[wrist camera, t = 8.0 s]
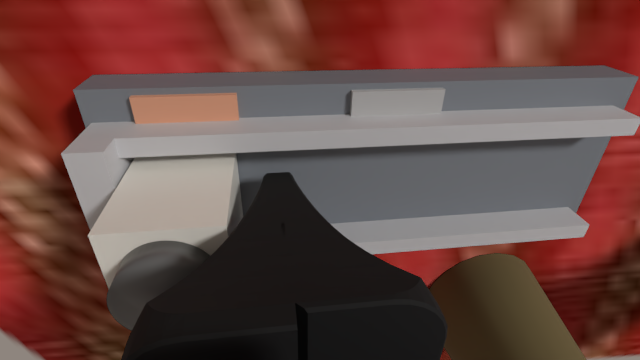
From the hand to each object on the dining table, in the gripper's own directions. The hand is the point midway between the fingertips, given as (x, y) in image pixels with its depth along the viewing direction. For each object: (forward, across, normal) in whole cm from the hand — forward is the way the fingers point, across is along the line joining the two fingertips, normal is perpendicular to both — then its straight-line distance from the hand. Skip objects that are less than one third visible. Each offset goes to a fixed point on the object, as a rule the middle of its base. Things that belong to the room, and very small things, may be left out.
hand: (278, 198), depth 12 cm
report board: (+2, -3, 0) cm, 4 cm away
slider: (+1, +3, 0) cm, 3 cm away
